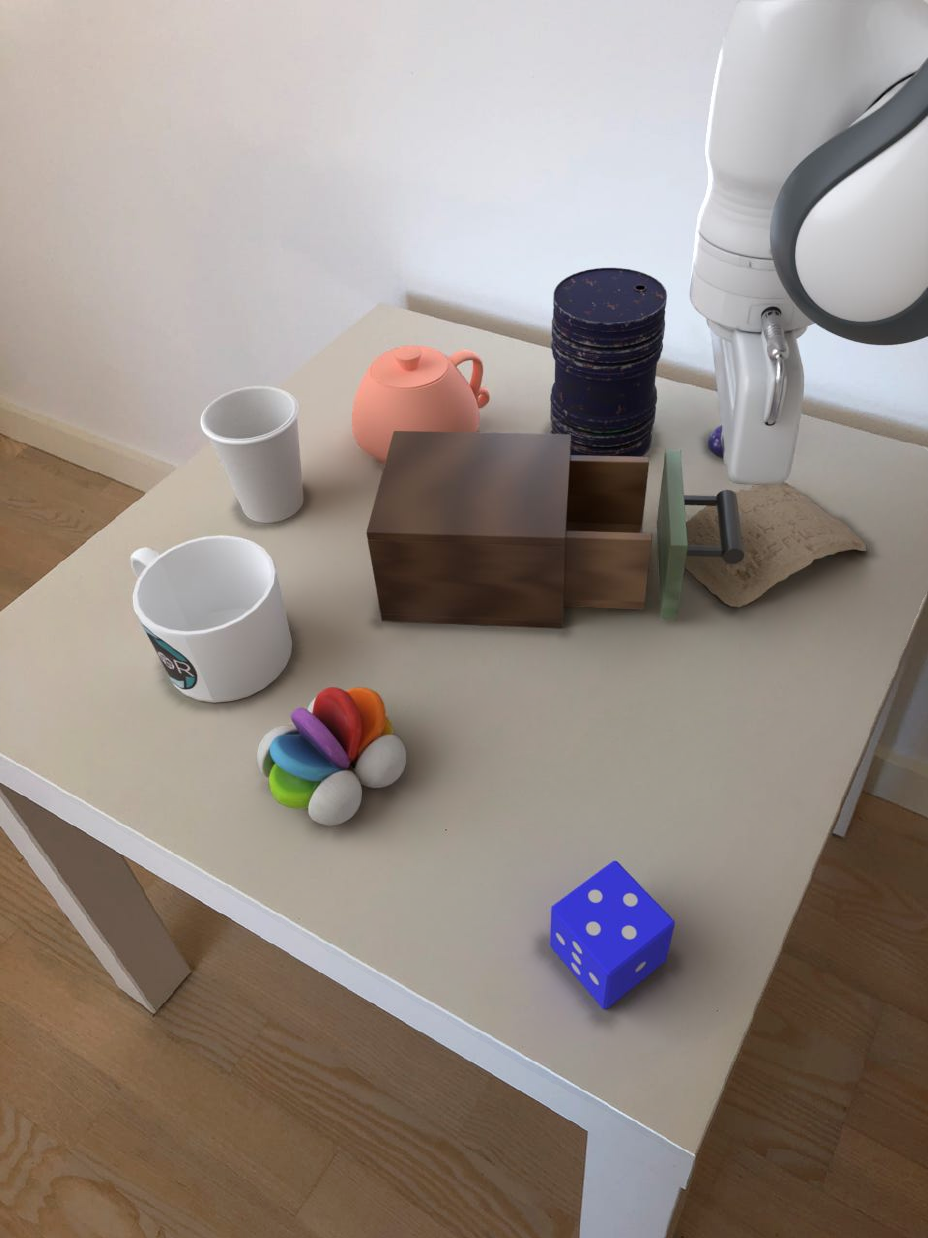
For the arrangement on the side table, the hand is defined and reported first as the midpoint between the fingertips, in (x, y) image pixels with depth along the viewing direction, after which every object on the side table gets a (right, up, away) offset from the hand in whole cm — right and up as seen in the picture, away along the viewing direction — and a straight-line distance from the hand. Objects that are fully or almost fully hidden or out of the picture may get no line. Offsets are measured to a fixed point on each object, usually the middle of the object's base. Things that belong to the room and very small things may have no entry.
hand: (734, 454), depth 68 cm
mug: (-39, -14, +7) cm, 42 cm away
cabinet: (-18, -8, +12) cm, 23 cm away
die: (-11, -32, -12) cm, 36 cm away
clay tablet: (+6, -6, +12) cm, 14 cm away
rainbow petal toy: (-29, -23, -2) cm, 37 cm away
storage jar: (-6, +6, +23) cm, 25 cm away
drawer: (-7, -8, +10) cm, 14 cm away
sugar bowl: (-23, +6, +25) cm, 34 cm away
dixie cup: (-37, -1, +19) cm, 42 cm away
